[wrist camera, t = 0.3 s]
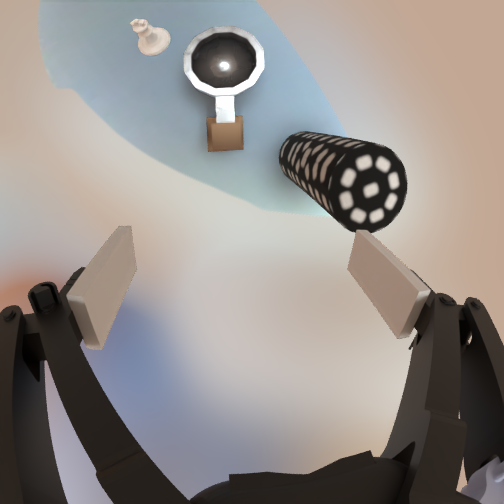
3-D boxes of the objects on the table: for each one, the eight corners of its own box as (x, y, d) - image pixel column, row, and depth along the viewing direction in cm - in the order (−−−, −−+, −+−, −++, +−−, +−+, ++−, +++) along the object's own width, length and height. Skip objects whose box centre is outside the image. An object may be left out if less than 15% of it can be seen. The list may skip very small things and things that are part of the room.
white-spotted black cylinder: (320, 124, 37) (397, 132, 19) (337, 172, 41) (412, 214, 23) (270, 142, 38) (314, 161, 20) (290, 191, 42) (341, 247, 24)
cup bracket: (187, 38, 24) (183, 29, 21) (258, 34, 25) (262, 26, 22) (190, 139, 30) (186, 140, 27) (261, 135, 31) (265, 136, 28)
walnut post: (206, 117, 35) (201, 115, 25) (241, 116, 36) (250, 112, 25) (208, 151, 37) (203, 161, 27) (242, 148, 38) (251, 158, 28)
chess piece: (142, 28, 27) (121, 6, 18) (173, 27, 28) (160, 3, 19) (135, 56, 29) (112, 39, 20) (167, 55, 30) (151, 36, 21)
